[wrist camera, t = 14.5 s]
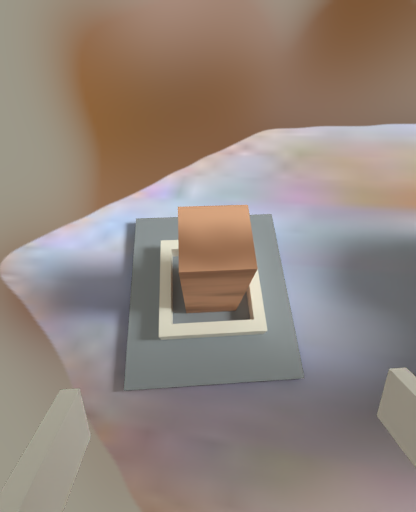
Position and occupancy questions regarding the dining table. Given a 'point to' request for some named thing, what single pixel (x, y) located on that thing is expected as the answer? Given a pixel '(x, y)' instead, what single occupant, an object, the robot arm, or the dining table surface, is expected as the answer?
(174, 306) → the baseplate
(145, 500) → the dining table surface
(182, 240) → the pillar
